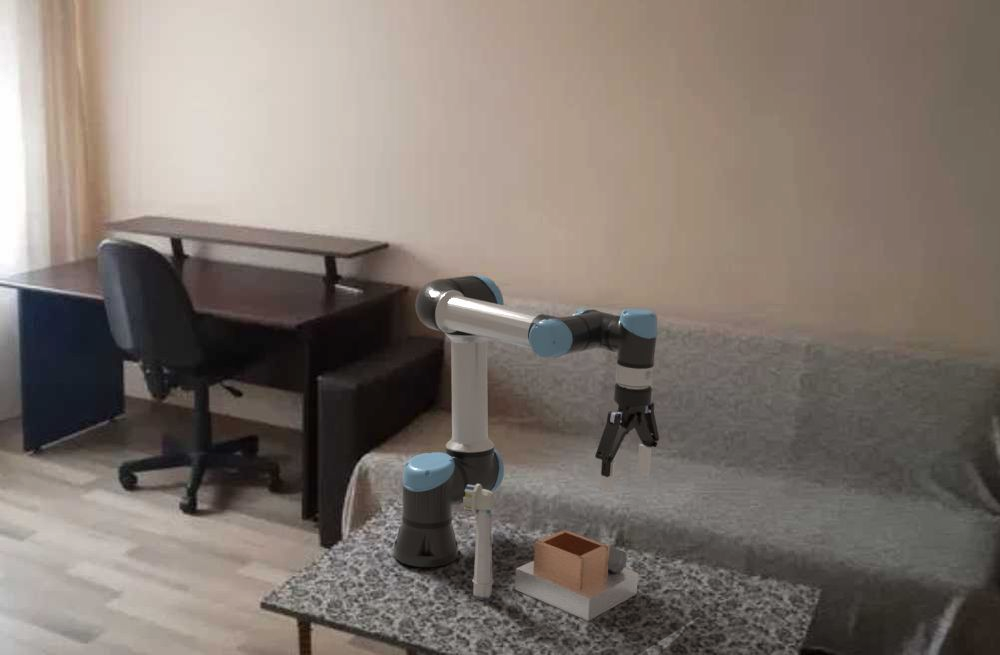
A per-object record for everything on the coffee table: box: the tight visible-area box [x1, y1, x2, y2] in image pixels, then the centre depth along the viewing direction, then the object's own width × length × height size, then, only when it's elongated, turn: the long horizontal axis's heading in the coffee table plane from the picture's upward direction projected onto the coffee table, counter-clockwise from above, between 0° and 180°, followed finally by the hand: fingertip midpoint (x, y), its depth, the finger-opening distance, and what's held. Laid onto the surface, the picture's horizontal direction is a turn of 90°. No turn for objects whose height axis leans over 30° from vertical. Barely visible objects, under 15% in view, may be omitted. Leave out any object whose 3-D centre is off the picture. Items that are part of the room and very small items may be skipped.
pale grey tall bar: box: [462, 484, 495, 601], centre depth 220 cm, size 5×7×25 cm
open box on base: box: [514, 529, 639, 622], centre depth 225 cm, size 20×18×12 cm
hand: (625, 482), depth 215 cm, fingers open, 13 cm apart
